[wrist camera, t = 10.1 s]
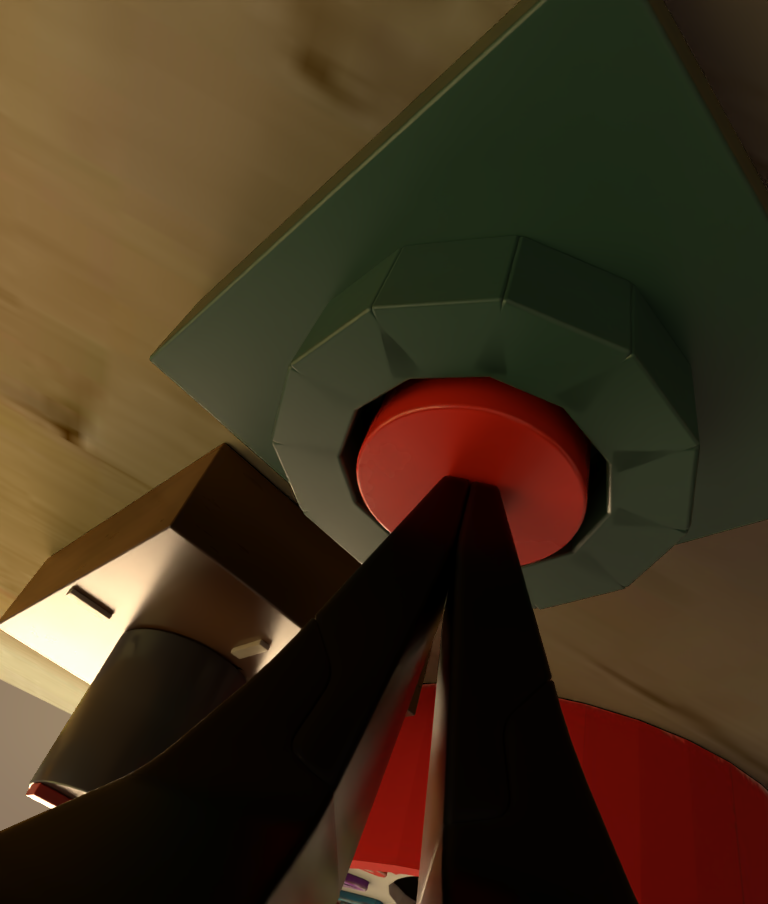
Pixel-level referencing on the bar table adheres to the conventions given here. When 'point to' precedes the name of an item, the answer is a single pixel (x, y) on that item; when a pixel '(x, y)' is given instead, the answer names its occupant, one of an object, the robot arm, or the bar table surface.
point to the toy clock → (619, 802)
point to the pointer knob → (133, 712)
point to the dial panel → (187, 573)
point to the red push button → (478, 456)
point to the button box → (522, 288)
